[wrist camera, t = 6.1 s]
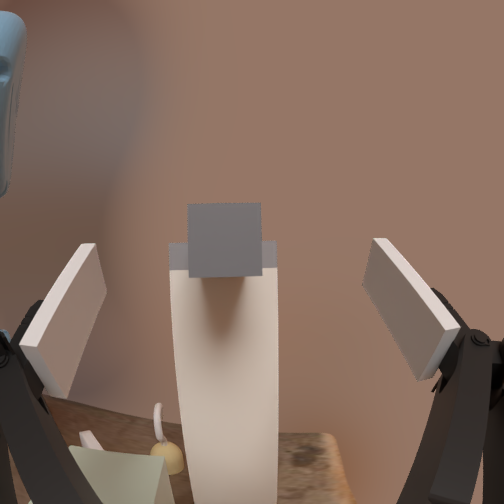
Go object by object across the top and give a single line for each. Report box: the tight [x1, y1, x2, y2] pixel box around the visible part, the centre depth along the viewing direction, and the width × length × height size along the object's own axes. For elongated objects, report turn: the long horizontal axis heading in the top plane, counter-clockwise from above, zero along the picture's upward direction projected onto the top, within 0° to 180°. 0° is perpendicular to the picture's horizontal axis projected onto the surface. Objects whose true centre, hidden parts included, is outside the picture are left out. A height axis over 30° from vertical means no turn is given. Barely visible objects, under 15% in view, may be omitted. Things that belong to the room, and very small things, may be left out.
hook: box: [150, 403, 185, 475], centre depth 40 cm, size 6×5×12 cm
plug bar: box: [188, 203, 263, 278], centre depth 25 cm, size 4×20×4 cm, turn 6°
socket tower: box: [169, 241, 278, 504], centre depth 30 cm, size 8×14×34 cm, turn 6°
